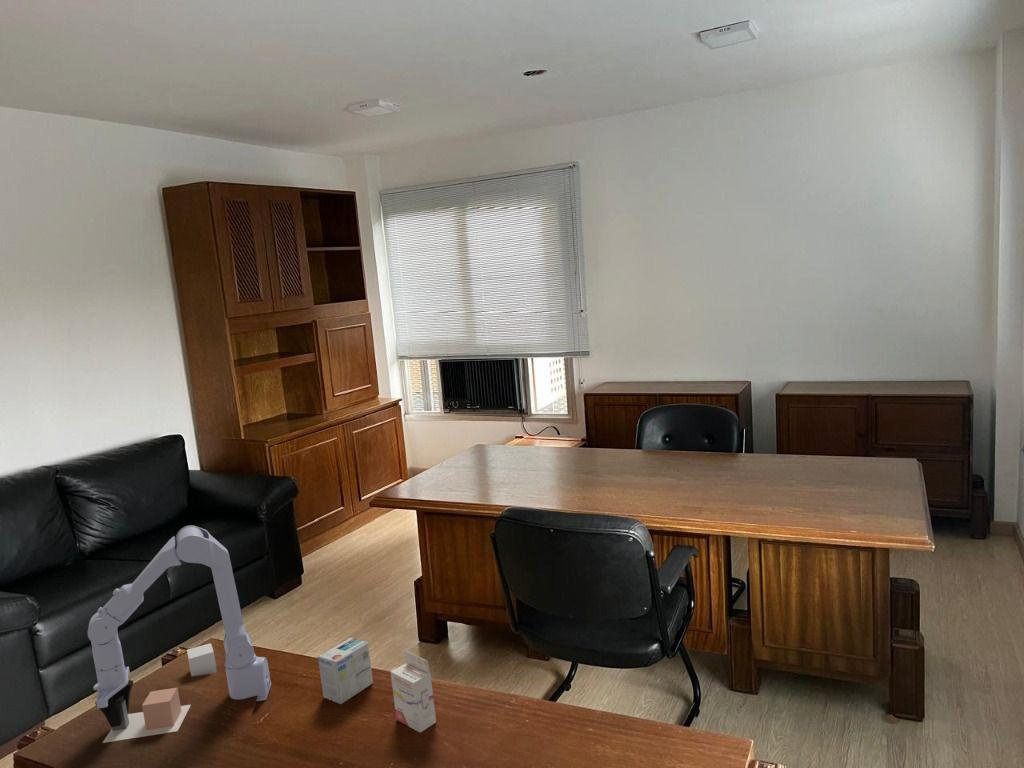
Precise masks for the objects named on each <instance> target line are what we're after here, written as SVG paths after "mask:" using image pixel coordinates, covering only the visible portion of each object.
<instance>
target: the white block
mask: <svg viewBox="0 0 1024 768" xmlns="http://www.w3.org/2000/svg"><path fill="white" fill-rule="evenodd" d="M186 654H187V660H188V667H189V672H190V676H191V677H196V676H197V677H198V676H203V675H204V676H205V675H210V674H217V673H218V669H217V664H216V658H215V652H214V649H213V645H212V643H207V644H203V645H199V646H195V647H193V648H189V649H186Z"/></svg>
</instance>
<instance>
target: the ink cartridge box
mask: <svg viewBox="0 0 1024 768" xmlns="http://www.w3.org/2000/svg"><path fill="white" fill-rule="evenodd" d="M404 655H405V660H406V663H404V664H402V665H400V666H399V667H396V668H395V669H393V670H391V671H390V679H391V686H392V695H393V704H394V711H395V719H396V721H398V722H400V723H402V724H404V725H405V726H407V727H409V728H411V729H413V730H414V731H416V732H418V733H423V732H424V731H425V730H427V729H428V728H429V727H431V726H433V725H434V724H435V723H436V722H437V718H436V708H435V702H434V701H435V700H434V691H433V684H432V675H431V672H430V671H431V670H430V668H429V667H430V666H429V661H428V660H427V659H424V658H422V657H421V656H419V655H416V654H415V653H412V652H409V651H407V650H405V651H404ZM415 660H417V661H418V662H417V661H415Z"/></svg>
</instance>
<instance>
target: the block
mask: <svg viewBox="0 0 1024 768" xmlns="http://www.w3.org/2000/svg"><path fill="white" fill-rule="evenodd" d="M181 706H182V705H181V700H180V694H179V688H178V687H172V688H165V689H159V690H153V691H152V690H151V691H150V692H149V694H148V695H147V696H146V698H145V700H144V701H143V703H142V705H141V708H142V712H143V714H144V720H145V726H146V730H150V729H156V728H163V727H169V726H174V725H175V723H176V721H177V719H178V717H179V715H180V713H181Z"/></svg>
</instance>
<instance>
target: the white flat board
mask: <svg viewBox="0 0 1024 768" xmlns="http://www.w3.org/2000/svg"><path fill="white" fill-rule="evenodd" d="M191 705H192V704H185V705H181V713H180V715H179V717H178V719H177V721H176V723H175V725H174V726H169V727H163V728H156V729H150V730H146V726H145V720H144V714H143V711H142V712H141V711H139V712H134V713H133V712H132V713H129V712H128V713H127V707H126V702H125V700H123V702H122V724H121V725H120V726H115V727H111V729H110V730H109V732H108V733H107V735H106V736H105V738H104V739H103V741H102V744H105V743H111V742H118V741H123V740H124V741H125V740H130V739H136V738H143V737H144V738H145V737H147V736H148V737H149V736H155V735H162V734H169V733H174V732H175V733H176V732H178V731H179V729H180V727H181V725H182V723H183V722H184V719H185V717H186V716H187V715H188V714H187V713H188V712H189V710H190V708H191Z"/></svg>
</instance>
